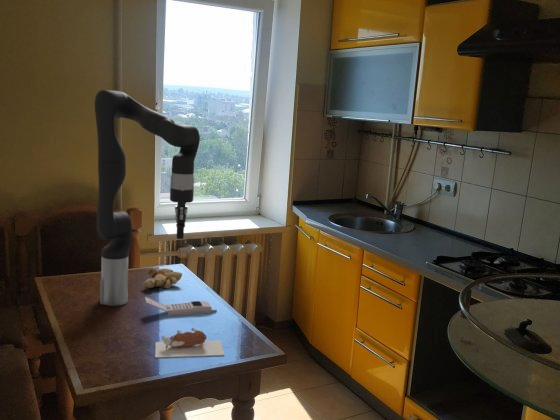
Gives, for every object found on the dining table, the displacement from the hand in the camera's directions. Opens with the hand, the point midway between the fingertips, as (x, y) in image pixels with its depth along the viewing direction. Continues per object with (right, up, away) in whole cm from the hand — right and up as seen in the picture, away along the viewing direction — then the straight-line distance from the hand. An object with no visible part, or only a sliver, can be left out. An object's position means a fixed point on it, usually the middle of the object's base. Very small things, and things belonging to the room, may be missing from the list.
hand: (179, 238), depth 178 cm
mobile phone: (-2, -27, +12) cm, 30 cm away
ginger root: (-15, -21, +40) cm, 47 cm away
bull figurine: (+3, -29, -10) cm, 31 cm away
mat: (+6, -33, -16) cm, 37 cm away
